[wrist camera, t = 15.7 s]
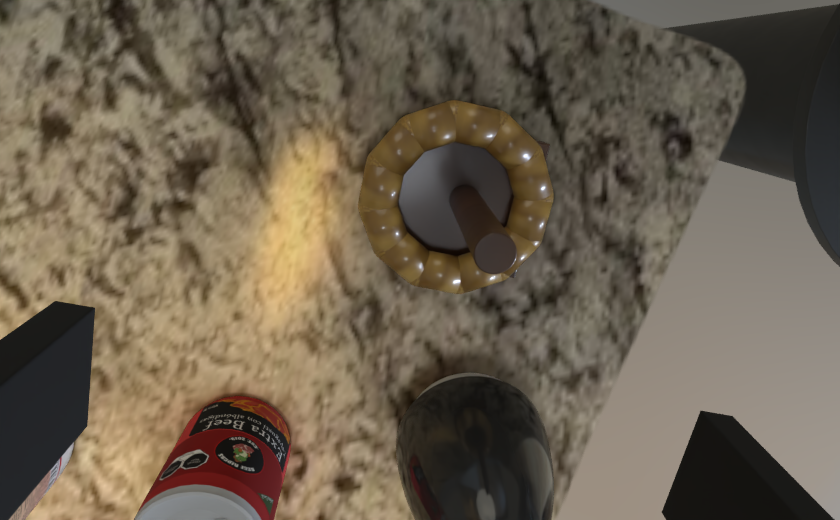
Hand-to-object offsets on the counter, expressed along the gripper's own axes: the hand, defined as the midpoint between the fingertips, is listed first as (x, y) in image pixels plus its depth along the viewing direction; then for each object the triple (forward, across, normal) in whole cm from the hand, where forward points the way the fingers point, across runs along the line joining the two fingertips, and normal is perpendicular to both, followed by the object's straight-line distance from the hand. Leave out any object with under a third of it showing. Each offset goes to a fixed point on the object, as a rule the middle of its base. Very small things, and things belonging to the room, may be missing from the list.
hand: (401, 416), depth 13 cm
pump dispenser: (+29, +9, -16) cm, 34 cm away
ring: (+26, +4, 0) cm, 26 cm away
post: (+29, +5, 0) cm, 29 cm away
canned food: (+29, -7, -21) cm, 36 cm away
